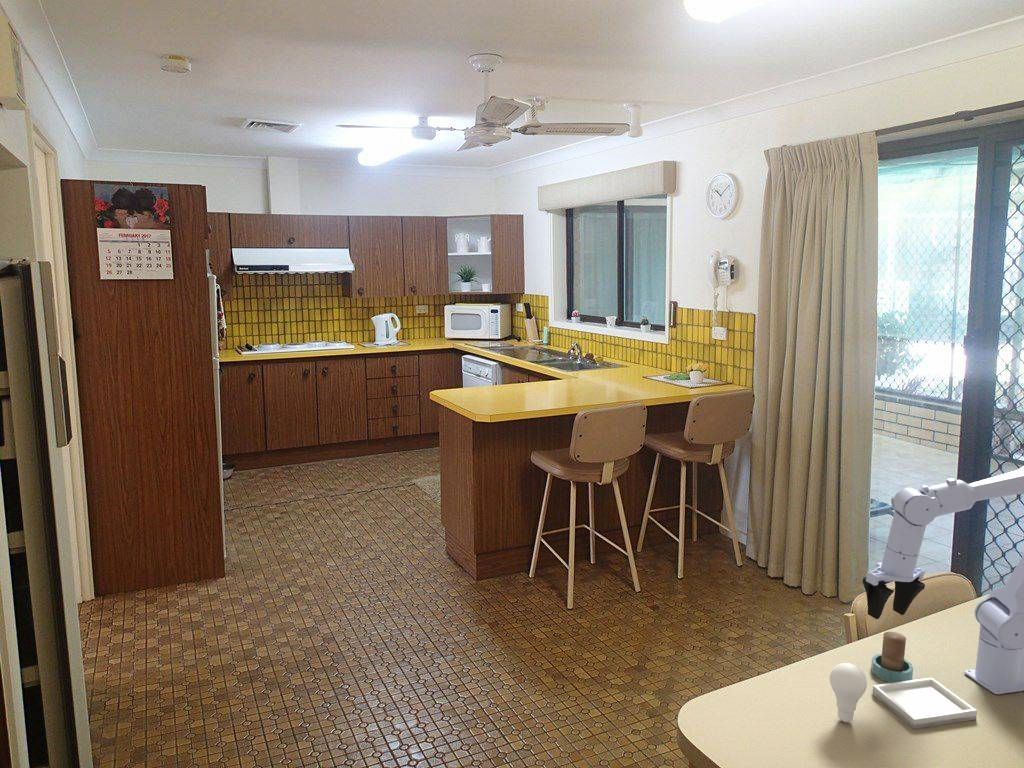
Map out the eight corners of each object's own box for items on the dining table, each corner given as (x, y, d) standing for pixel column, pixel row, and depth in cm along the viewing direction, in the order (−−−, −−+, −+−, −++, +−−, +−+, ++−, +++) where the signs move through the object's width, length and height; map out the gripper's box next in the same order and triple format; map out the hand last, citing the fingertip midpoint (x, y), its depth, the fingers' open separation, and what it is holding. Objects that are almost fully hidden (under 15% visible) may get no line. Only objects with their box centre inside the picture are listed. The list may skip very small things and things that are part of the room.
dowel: (893, 667, 154) (896, 630, 153) (907, 677, 150) (910, 640, 149) (875, 669, 153) (879, 632, 152) (889, 680, 149) (892, 642, 148)
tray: (931, 685, 147) (931, 677, 147) (976, 719, 137) (977, 710, 137) (872, 694, 145) (873, 685, 144) (913, 728, 134) (914, 719, 134)
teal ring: (894, 661, 156) (895, 652, 156) (919, 681, 149) (920, 670, 149) (863, 666, 155) (864, 656, 154) (887, 685, 148) (888, 675, 147)
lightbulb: (867, 733, 133) (872, 676, 131) (830, 729, 134) (834, 672, 132) (858, 713, 139) (863, 658, 137) (823, 709, 140) (827, 654, 138)
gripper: (907, 539, 153) (891, 601, 155) (859, 543, 146) (844, 608, 149) (940, 554, 147) (923, 618, 149) (891, 559, 140) (875, 626, 143)
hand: (885, 614), depth 149 cm, fingers open, 7 cm apart
